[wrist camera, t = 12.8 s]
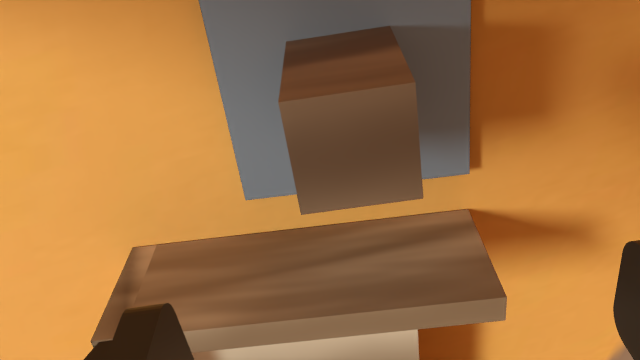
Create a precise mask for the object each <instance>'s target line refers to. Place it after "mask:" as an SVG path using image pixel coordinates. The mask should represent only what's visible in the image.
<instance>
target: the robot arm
mask: <svg viewBox="0 0 640 360" xmlns="http://www.w3.org/2000/svg"><path fill="white" fill-rule="evenodd" d="M613 311H614V319H615V324H616V327H617V330H618V333H619V335H620V337H621V340H622V341H623V343H624V345H625V346H626V348H627V349H628V351H629V353H630V354H631V356H632V357H633V359H634V360H640V240H638V241H631V242H628V243H626V245H625V246H624V249H623V253H622V259H621V265H620V270H619V276H618V282H617V288H616V294H615V300H614V307H613ZM84 360H194V357H193V355H192V352H191V350H190V347H189V345H188V343H187V340H186V338H185V335H184V333H183V330H182V328H181V325H180V323H179V320H178V318H177V315H176V313H175V311H174V308H173V307H172V305H171V304H169V303H163V304H156V305H148V306H141V307H134V308H128V309H126V310H125V311H124V312H123V314H122V316H121V318H120V321H119V324H118V326H117V329H116V332H115V334H114V337H113V340H109V341H102V342H98V344H97V345H96V346H95V347H94V348H93V349H92V351H91V352H90V353H89V354H88V355H87V357H86V358H85V359H84Z"/></svg>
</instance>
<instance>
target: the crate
mask: <svg viewBox="0 0 640 360" xmlns="http://www.w3.org/2000/svg"><path fill="white" fill-rule="evenodd" d="M506 302H507V297H506V294H505V292H504V290H503V288H502V285H501V283H500V281H499V278H498V276H497V274H496V272H495V269H494V267H493V265H492V262H491V260H490V258H489V256H488V253H487V251H486V249H485V247H484V244H483V242H482V240H481V237H480V235H479V233H478V231H477V228H476V226H475V224H474V222H473V219H472V217H471V215H470V212H469V210H468V209H465V210H456V211H447V212H439V213H430V214H421V215H413V216H404V217H395V218H386V219H378V220H369V221H360V222H352V223H343V224H334V225H325V226H317V227H308V228H299V229H291V230H282V231H273V232H265V233H256V234H247V235H238V236H230V237H221V238H212V239H204V240H195V241H186V242H177V243H169V244H160V245H151V246H143V247H134V248H132V250H131V252H130V255H129V257H128V259H127V261H126V264H125V266H124V268H123V270H122V272H121V275H120V277H119V279H118V281H117V284H116V286H115V288H114V290H113V293H112V295H111V297H110V299H109V301H108V304H107V306H106V308H105V310H104V313H103V315H102V317H101V319H100V322H99V324H98V326H97V328H96V331H95V333H94V335H93V337H92V339H91V343H92V345H93V347H95V346H96V345H97V344H98V342H102V341H109V340H113V337H114V334H115V332H116V329H117V326H118V324H119V321H120V318H121V316H122V314H123V312H124V311H125V310H126V309H128V308H134V307H141V306H148V305H156V304H163V303H169V304H171V305H172V307H173V308H174V311H175V313H176V315H177V318H178V320H179V323H180V325H181V328H182V330H183V333H184V335H185V338H186V340H187V343H188V345H189V347H190V350H191V352H192V355H193V357H194V360H419V345H418V329H426V328H436V327H446V326H455V325H465V324H474V323H484V322H494V321H503V320H506Z"/></svg>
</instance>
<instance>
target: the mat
mask: <svg viewBox="0 0 640 360" xmlns="http://www.w3.org/2000/svg"><path fill="white" fill-rule="evenodd" d="M199 4H200V8H201V12H202V17H203V21H204V25H205V29H206V34H207V38H208V42H209V46H210V51H211V55H212V59H213V63H214V68H215V72H216V76H217V80H218V85H219V89H220V93H221V97H222V102H223V106H224V110H225V114H226V119H227V123H228V127H229V131H230V136H231V140H232V144H233V148H234V153H235V157H236V161H237V165H238V170H239V174H240V178H241V182H242V187H243V191H244V195H245V199H246V200H252V199H260V198H269V197H277V196H286V195H294V194H297V192H296V187H295V182H294V177H293V172H292V167H291V162H290V158H289V153H288V148H287V143H286V138H285V133H284V128H283V123H282V118H281V113H280V108H279V104H278V101H279V93H280V85H281V77H282V69H283V61H284V54H285V46H286V42H287V41H293V40H300V39H306V38H313V37H319V36H326V35H332V34H339V33H345V32H352V31H358V30H364V29H371V28H377V27H384V26H390V27H391V29H392V31H393V34H394V36H395V38H396V40H397V43H398V45H399V47H400V49H401V51H402V54H403V56H404V58H405V60H406V62H407V65H408V67H409V69H410V71H411V73H412V76H413V78H414V80H415V82H416V97H417V112H418V127H419V142H420V157H421V172H422V179H430V178H438V177H446V176H455V175H463V174H469V162H470V45H471V0H199Z"/></svg>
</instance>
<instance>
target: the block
mask: <svg viewBox="0 0 640 360" xmlns="http://www.w3.org/2000/svg"><path fill="white" fill-rule="evenodd" d="M278 104H279V108H280V113H281V118H282V123H283V128H284V133H285V138H286V143H287V148H288V153H289V158H290V162H291V167H292V172H293V177H294V182H295V187H296V192H297V197H298V202H299V207H300V212H301V215H303V214H311V213H318V212H325V211H333V210H340V209H348V208H355V207H363V206H370V205H378V204H385V203H393V202H400V201H408V200H415V199H423V187H422V172H421V157H420V142H419V127H418V112H417V97H416V82H415V80H414V78H413V76H412V73H411V71H410V69H409V67H408V65H407V62H406V60H405V58H404V56H403V54H402V51H401V49H400V47H399V45H398V43H397V40H396V38H395V36H394V34H393V31H392V29H391V27H390V26H384V27H377V28H371V29H364V30H358V31H352V32H345V33H339V34H332V35H326V36H319V37H313V38H306V39H300V40H293V41H287V42H286V46H285V54H284V61H283V69H282V77H281V85H280V93H279V101H278Z"/></svg>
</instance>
